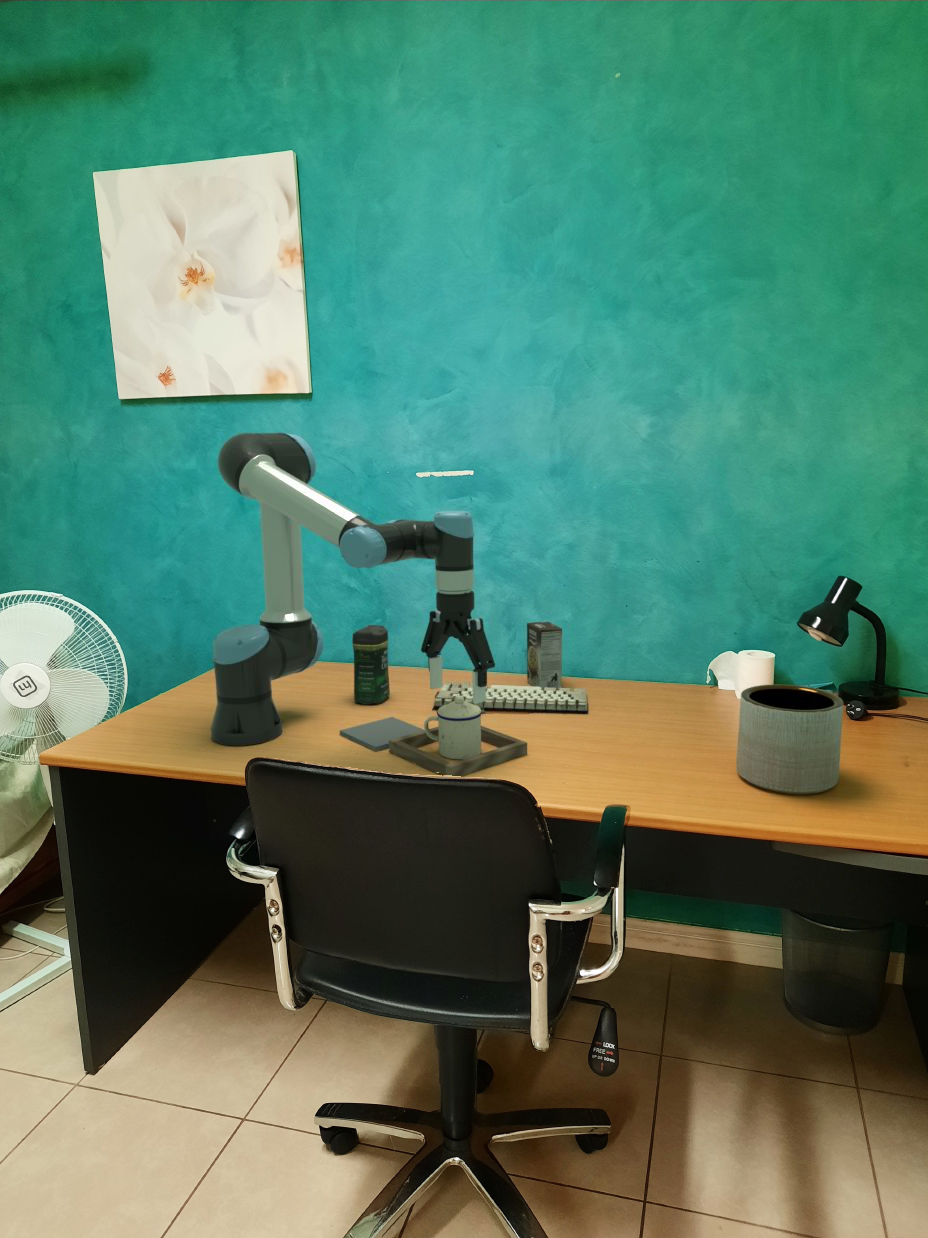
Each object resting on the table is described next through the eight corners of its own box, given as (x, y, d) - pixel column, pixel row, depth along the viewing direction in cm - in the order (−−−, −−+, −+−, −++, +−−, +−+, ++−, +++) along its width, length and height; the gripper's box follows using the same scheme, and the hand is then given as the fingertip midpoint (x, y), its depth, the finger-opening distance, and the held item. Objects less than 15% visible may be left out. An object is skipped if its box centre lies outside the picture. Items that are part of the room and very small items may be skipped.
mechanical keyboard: (587, 694, 212) (587, 682, 212) (590, 719, 194) (590, 705, 193) (439, 692, 217) (439, 680, 216) (427, 716, 198) (427, 702, 197)
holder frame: (450, 779, 158) (450, 767, 157) (389, 751, 173) (388, 740, 172) (527, 754, 170) (527, 742, 170) (464, 730, 185) (463, 719, 185)
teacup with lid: (486, 746, 175) (485, 692, 173) (477, 762, 166) (476, 705, 164) (431, 742, 178) (429, 689, 176) (418, 757, 169) (417, 702, 167)
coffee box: (525, 682, 222) (525, 622, 219) (548, 680, 224) (548, 620, 221) (539, 691, 214) (539, 629, 210) (562, 689, 215) (563, 627, 212)
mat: (375, 751, 173) (375, 747, 173) (339, 734, 183) (339, 730, 183) (429, 736, 182) (429, 731, 182) (392, 721, 192) (392, 716, 192)
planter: (723, 784, 154) (727, 702, 151) (750, 754, 168) (754, 679, 165) (827, 805, 144) (833, 718, 141) (846, 772, 158) (852, 692, 155)
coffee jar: (380, 706, 203) (377, 631, 200) (350, 704, 205) (346, 630, 202) (394, 695, 212) (392, 623, 209) (365, 693, 214) (362, 622, 211)
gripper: (512, 595, 158) (513, 704, 162) (431, 581, 176) (433, 679, 181) (482, 600, 153) (484, 712, 157) (402, 585, 172) (405, 685, 176)
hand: (457, 695), depth 169 cm, fingers open, 13 cm apart
